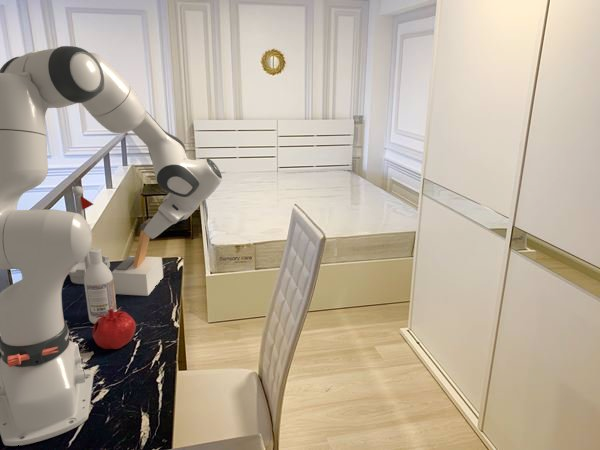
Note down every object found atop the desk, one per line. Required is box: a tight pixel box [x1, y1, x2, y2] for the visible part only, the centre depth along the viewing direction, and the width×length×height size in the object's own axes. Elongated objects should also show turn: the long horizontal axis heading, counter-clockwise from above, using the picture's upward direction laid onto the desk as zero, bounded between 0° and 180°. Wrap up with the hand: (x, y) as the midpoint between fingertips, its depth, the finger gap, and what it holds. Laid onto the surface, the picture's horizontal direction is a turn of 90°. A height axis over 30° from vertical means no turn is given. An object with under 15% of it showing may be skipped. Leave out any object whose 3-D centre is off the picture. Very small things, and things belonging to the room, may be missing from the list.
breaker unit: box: [111, 255, 164, 297], centre depth 141 cm, size 10×13×8 cm
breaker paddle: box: [133, 217, 152, 268], centre depth 137 cm, size 2×6×14 cm, turn 177°
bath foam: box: [83, 247, 118, 324], centre depth 119 cm, size 7×7×20 cm
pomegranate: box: [91, 308, 137, 350], centre depth 111 cm, size 10×10×9 cm
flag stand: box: [67, 185, 111, 285], centre depth 142 cm, size 13×13×30 cm
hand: (150, 234), depth 136 cm, fingers closed, pressing on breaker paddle
